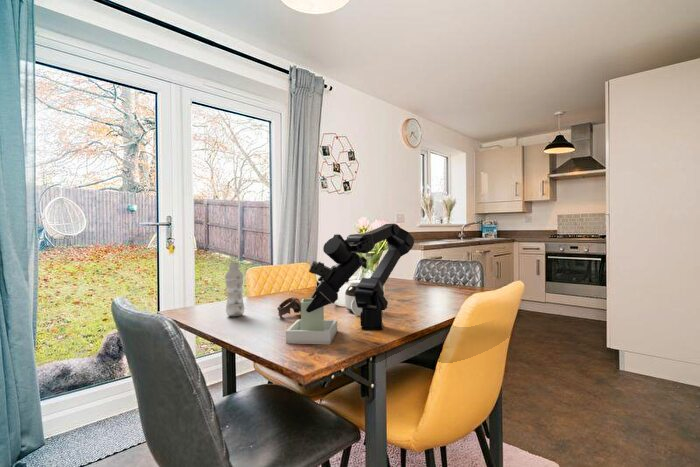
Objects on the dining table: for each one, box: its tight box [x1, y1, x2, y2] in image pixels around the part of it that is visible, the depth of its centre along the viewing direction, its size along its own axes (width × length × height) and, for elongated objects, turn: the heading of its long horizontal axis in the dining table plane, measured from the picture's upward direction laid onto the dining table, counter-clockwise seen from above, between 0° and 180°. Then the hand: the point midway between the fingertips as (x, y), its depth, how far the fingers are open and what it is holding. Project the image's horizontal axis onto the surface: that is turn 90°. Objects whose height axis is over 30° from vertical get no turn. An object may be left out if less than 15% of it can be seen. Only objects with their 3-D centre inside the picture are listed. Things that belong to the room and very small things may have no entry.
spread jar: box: [344, 279, 362, 317], centre depth 135 cm, size 12×11×12 cm
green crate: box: [300, 297, 325, 331], centre depth 105 cm, size 6×6×10 cm
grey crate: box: [285, 318, 338, 345], centre depth 105 cm, size 13×13×4 cm
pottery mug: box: [277, 296, 301, 318], centre depth 130 cm, size 12×10×8 cm
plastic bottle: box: [224, 261, 245, 318], centre depth 132 cm, size 6×7×20 cm
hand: (307, 308), depth 105 cm, fingers open, 7 cm apart
